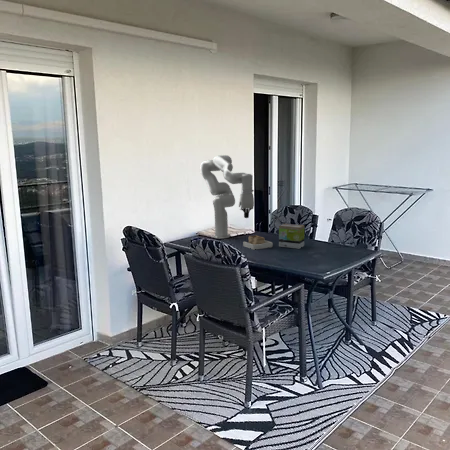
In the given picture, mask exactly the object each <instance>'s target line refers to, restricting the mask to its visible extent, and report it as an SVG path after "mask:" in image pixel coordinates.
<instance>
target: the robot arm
mask: <svg viewBox="0 0 450 450" xmlns="http://www.w3.org/2000/svg"><path fill="white" fill-rule="evenodd" d="M232 162H233V160H232V157H231V156H230V155H226V154H225V155H224V154H223V155H222V154H221V155H216V156H214V157H213V159H208V160H204V161H202V162H201V163H200V165H199V168H200V169H199V172H200V174H201V176H202V178H203V180H204V181H205V183H206V185H207V187H208V189H209V192H210V194H211V195H212V196H214V198H213V199H212V205H213V209H214V210H213V211H214V231H213V232H214V235H215V236H213V235H212V238H214V239H220V240H221V239H229V238H231V235H230V234H229V233H228V231H229V230H228V228H229V226H228V220H229V219H228V212H227V209H226V208H232V207H233V206H235V204H236V198H235V195H234V193H233V190H232V188H231V187H230V185H229V184H228V183H230V184H231V185H237V184H241V193H239V198H238V208H239V210H240V211H242V212H243V216H244V218H245V219H249V217H250V211H252V210H253V209H254V206H255V198H254V194H253V192H254V189H253V178H254V177H253V174H252V173H246V172H232V171H233V169H234V166H233V164H232ZM220 171H221V172H222V175H223V178H224V180H226V181H227V182H228V183H227V182H224V181H221V182H219V180H218V179H217V177H216V175H215V174H214V173H213V172H220Z"/></svg>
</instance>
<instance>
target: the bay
mask: <svg viewBox="0 0 450 450" xmlns="http://www.w3.org/2000/svg"><path fill="white" fill-rule="evenodd" d="M242 243H243V244H242V246H243V247H244V248H248V249H250V248H251V249H250V250H254V251H255V249H256V250H262V249H269V248H273V243H274V242H272V241H269V240H265V239H264V244H257V245H253V244H250V243H249V242H247V241H243V242H242Z"/></svg>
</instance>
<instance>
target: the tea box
mask: <svg viewBox="0 0 450 450" xmlns="http://www.w3.org/2000/svg"><path fill="white" fill-rule="evenodd" d="M304 246H305V224H293V223H282V224H281V225H278V247H279V248H281V247H282V248H289V249H290V248H291V249H297V250H299V249H300V250H301V247H302V248H303V247H304Z"/></svg>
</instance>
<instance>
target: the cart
mask: <svg viewBox="0 0 450 450" xmlns="http://www.w3.org/2000/svg"><path fill="white" fill-rule="evenodd" d="M264 240H265V236H264V237H263V236H260V235H257V234H256V235H249V236H248V243H250V244H253V245H257V244H264Z"/></svg>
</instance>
